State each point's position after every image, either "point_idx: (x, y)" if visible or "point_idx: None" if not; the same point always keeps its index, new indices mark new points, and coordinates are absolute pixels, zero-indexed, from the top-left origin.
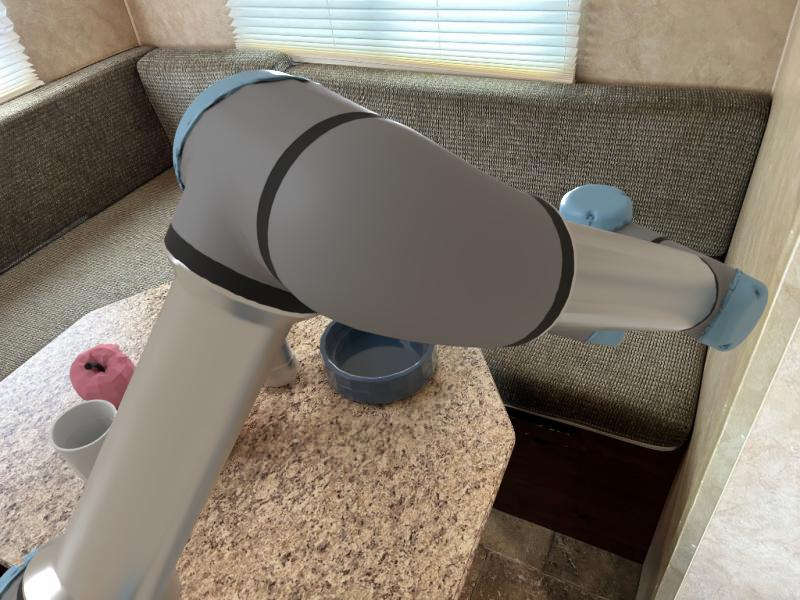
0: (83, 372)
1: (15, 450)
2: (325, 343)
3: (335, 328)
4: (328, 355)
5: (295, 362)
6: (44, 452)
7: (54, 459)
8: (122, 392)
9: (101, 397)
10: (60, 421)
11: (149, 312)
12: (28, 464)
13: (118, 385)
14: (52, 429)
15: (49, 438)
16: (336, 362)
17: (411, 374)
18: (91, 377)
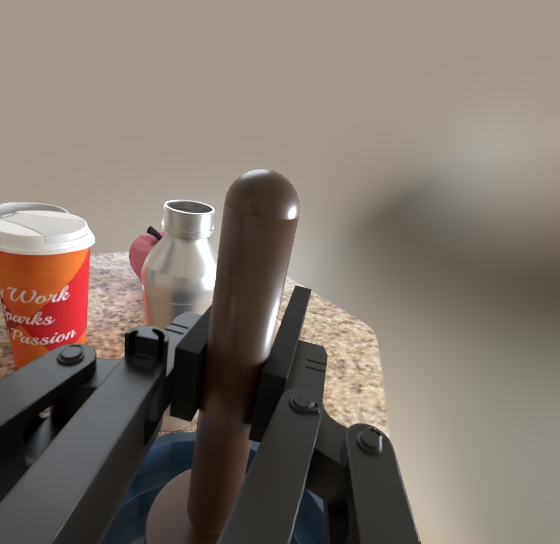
0: (151, 235)
1: (114, 255)
2: (193, 443)
3: (251, 460)
4: (183, 466)
5: (167, 412)
6: (105, 265)
7: (93, 269)
8: (138, 269)
9: (129, 257)
10: (49, 208)
11: (286, 292)
12: (94, 261)
13: (137, 259)
14: (36, 203)
15: (21, 202)
16: (157, 487)
17: None
18: (144, 240)
